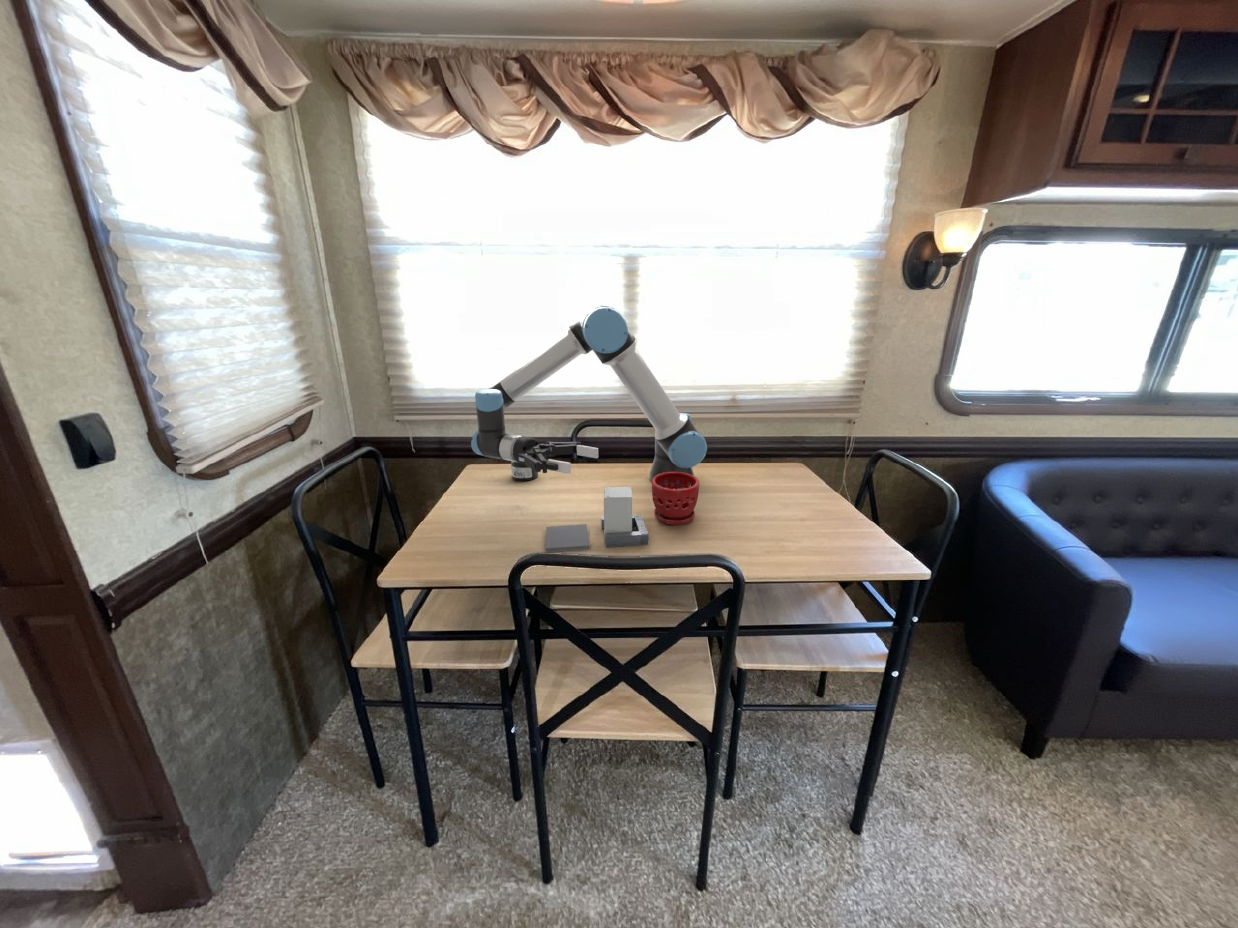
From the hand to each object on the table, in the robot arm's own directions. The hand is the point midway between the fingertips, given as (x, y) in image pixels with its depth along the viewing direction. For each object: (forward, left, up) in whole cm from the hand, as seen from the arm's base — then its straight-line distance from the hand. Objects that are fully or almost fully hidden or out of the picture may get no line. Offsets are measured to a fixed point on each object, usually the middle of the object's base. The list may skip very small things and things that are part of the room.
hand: (584, 460), depth 128 cm
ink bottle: (+19, -42, -20) cm, 51 cm away
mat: (+6, +6, -20) cm, 21 cm away
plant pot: (-25, -2, -20) cm, 32 cm away
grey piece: (-10, +6, -20) cm, 23 cm away
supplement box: (-8, +6, -20) cm, 22 cm away
